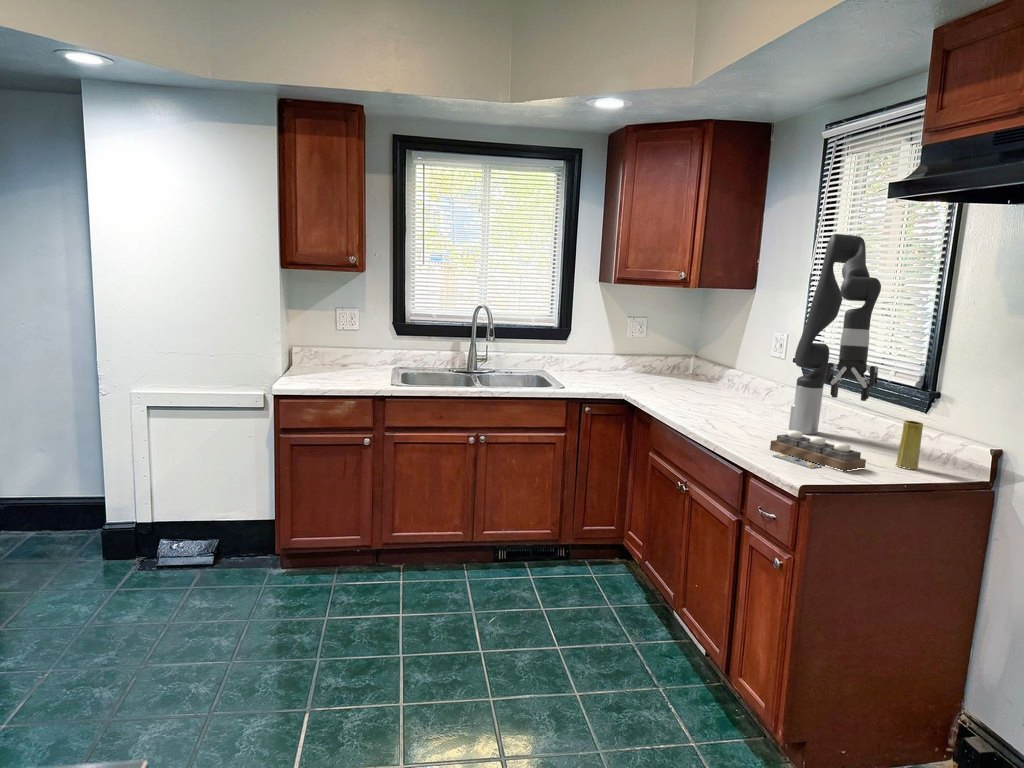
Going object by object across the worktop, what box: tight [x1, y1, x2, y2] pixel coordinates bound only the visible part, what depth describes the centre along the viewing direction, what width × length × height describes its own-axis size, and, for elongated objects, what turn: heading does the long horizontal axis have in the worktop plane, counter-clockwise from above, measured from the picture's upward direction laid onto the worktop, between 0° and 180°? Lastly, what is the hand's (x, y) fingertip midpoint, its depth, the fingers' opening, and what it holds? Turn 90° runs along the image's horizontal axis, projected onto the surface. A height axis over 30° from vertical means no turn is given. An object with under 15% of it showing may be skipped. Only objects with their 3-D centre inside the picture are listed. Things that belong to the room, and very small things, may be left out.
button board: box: [769, 433, 867, 471], centre depth 218 cm, size 27×10×5 cm, turn 30°
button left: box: [787, 429, 803, 440], centre depth 225 cm, size 4×4×2 cm
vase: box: [895, 420, 924, 470], centre depth 213 cm, size 6×6×14 cm
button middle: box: [809, 435, 827, 446], centre depth 217 cm, size 4×4×2 cm
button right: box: [833, 442, 851, 453], centre depth 210 cm, size 4×4×2 cm
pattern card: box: [772, 453, 822, 468], centre depth 214 cm, size 14×5×1 cm, turn 30°
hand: (848, 399), depth 206 cm, fingers open, 8 cm apart
